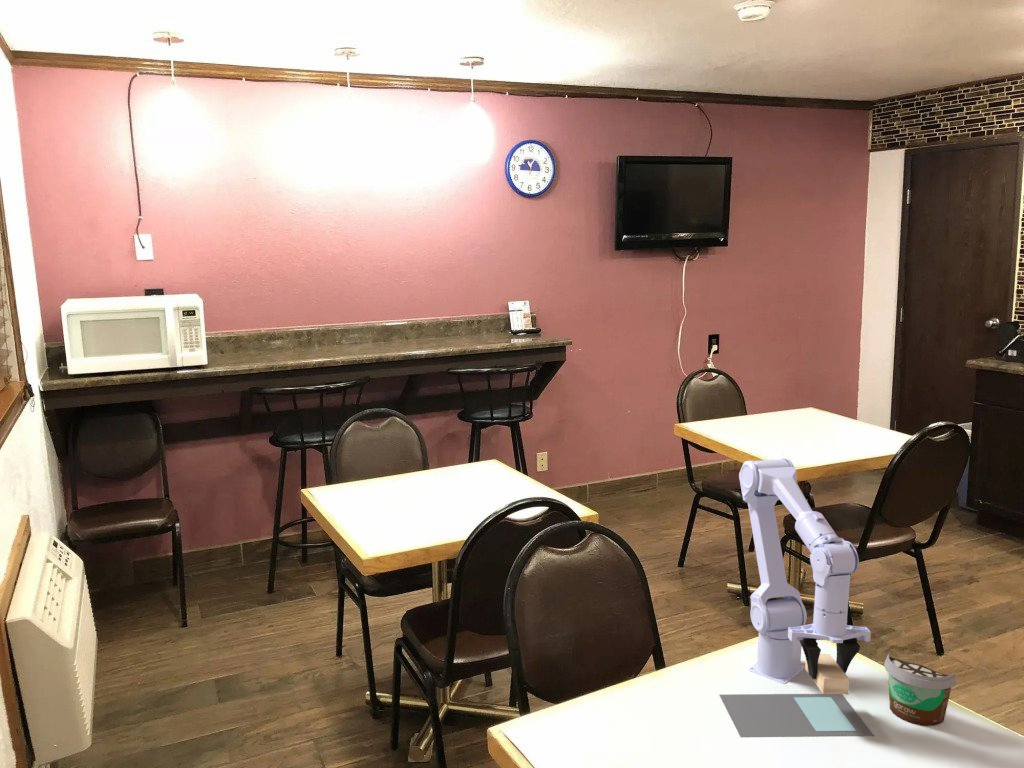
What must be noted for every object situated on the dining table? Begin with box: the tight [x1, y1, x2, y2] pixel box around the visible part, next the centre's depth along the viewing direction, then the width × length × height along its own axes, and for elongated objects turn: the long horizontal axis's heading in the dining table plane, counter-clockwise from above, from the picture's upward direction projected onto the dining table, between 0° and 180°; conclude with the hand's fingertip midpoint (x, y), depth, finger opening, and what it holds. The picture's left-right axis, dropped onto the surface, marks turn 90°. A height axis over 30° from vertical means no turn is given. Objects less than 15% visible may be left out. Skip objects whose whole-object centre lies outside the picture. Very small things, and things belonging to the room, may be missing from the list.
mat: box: [719, 693, 875, 738], centre depth 151 cm, size 24×14×1 cm, turn 91°
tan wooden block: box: [804, 653, 850, 695], centre depth 150 cm, size 9×4×3 cm, turn 0°
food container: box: [883, 652, 957, 727], centre depth 150 cm, size 12×6×10 cm, turn 47°
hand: (826, 676), depth 150 cm, fingers closed on tan wooden block, 4 cm apart
